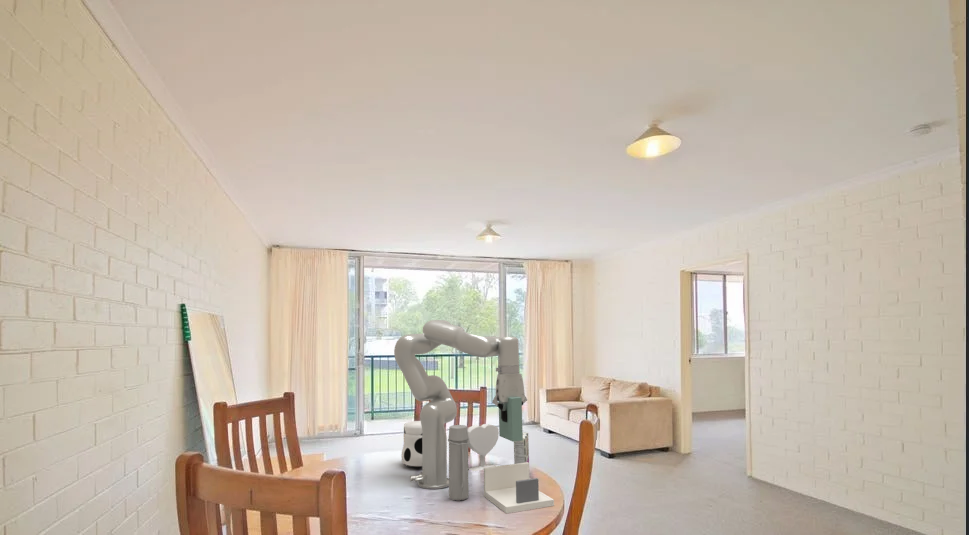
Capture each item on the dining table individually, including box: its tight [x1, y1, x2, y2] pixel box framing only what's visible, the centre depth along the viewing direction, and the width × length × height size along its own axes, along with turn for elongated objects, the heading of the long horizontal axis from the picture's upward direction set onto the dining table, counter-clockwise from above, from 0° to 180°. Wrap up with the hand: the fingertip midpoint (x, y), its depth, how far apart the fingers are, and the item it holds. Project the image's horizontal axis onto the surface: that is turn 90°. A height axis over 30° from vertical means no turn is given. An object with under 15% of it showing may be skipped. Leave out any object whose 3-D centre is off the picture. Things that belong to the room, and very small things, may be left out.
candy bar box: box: [513, 431, 530, 464], centre depth 217 cm, size 11×5×16 cm, turn 168°
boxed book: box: [498, 397, 524, 443], centre depth 194 cm, size 4×11×15 cm, turn 24°
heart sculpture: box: [467, 423, 499, 472], centre depth 230 cm, size 16×5×18 cm, turn 125°
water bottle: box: [447, 424, 470, 502], centre depth 190 cm, size 9×8×25 cm
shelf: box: [483, 462, 555, 514], centre depth 186 cm, size 18×19×10 cm
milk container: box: [401, 420, 422, 469], centre depth 234 cm, size 17×17×18 cm
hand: (510, 420), depth 194 cm, fingers closed on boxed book, 4 cm apart
